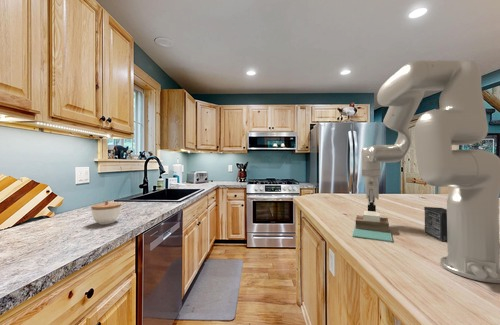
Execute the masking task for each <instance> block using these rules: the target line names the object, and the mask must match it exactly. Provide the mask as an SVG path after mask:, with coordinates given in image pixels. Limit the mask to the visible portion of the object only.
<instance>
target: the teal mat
mask: <svg viewBox="0 0 500 325" xmlns="http://www.w3.org/2000/svg"><path fill="white" fill-rule="evenodd" d="M351 236H352V237H353V238H356V239H364V240H365V239H366V240H372V241H374V240H375V241H379V242H380V241H381V242H388V243H393V237H392V234H391V228H389V232H381V231H372V230H364V229H356V224H355V225H354V228H353V231H352V235H351Z"/></svg>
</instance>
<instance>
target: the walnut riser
mask: <svg viewBox="0 0 500 325" xmlns="http://www.w3.org/2000/svg"><path fill="white" fill-rule="evenodd" d="M389 222H390V221H389V218H388V217H381V216H380V222H370V221H364V220H363V215H358V214H357V215H356V218H355V225H356V229H364V230H372V231H381V232H389V229H390V224H389Z"/></svg>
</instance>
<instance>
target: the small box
mask: <svg viewBox="0 0 500 325" xmlns="http://www.w3.org/2000/svg"><path fill="white" fill-rule="evenodd" d="M423 209H424V233H425V234H426V235H428V236H430V237H432V238H434V239H436V240H438V241H440V242H447V208H443V207H437V206H435V207H433V206H431V207H430V206H424V207H423Z"/></svg>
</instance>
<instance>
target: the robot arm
mask: <svg viewBox="0 0 500 325" xmlns="http://www.w3.org/2000/svg"><path fill="white" fill-rule="evenodd" d="M428 91H431V92H432V91H442V92H441V93H440V95H439V101H438V103H439V109H432V110H428V111H426V112H424V113H422V115H420V116H419V117H418V119H417V120H416V122H415V124H414V128H413V129H414V130H413V139H414V140H413V141H414V147H415V148H414V149H415V155H416V164H417V170H418V173H419V175H420V178H421V179H422V181H423V182H424V183H426V184H428V185H430V186H431V187H438V188H442V187H443V188H447V187H448V188H450V187H452V188H451V189H450V191H449V193H448V196H447V199H446V209H447V241H446V243H447V255H446V256H442V257H441V258H440V259H439V260H440V265H441V266H442V267H443V268H444V269H446V270H447V271H449V272H451V273H453V274H456V275H458V276H460V277H464V278H466V279H471V280H474V281H477V282H478V281H479V282H484V283H491V284H500V220H499V219H500V216H499V215H500V157H499V155H496V154H495V153H493V152H491V151H487V150H485V149H484V150H483V149H453V147H452V146H466V145H467V146H468V145H474V144H478V143H480V142H482V141H483V140H484V139H486V137H487V135H488V131H489V126H488V119H487V112H486V107H485V100H484V99H485V98H484V96H483V90H482V70H481V67H480V65H479V64H478V63H477V62H476V61H473V60H469V59H456V60H455V59H451V60H450V59H447V60H446V59H445V60H443V59H442V60H440V59H439V60H438V59H436V60H414V61H410V62H408V63H406V64H404V65H403V66H401V67H400V68H399V69H398V70H397V71H396V72H395V73H393V74H392V75H391V76H390V77H388V79H387V80H385V81H384V83H383V84H382V85H381V87H380V88H379V90H378V92H377V95H376V100H377V104H378V105H380V106H382V107H388V109H387V111H386V114H385V115H384V118H383V124H384V126H385V127H387V128H389V129H390V130H392V131H395V132H397V134H398V135H397V137H396V141H395V142H394V144H376V145H375V144H374V145H371V146H365V147H362V148H361V178H364V189H365V197H366V198H365V199H367V211H374V212H377V208H376V207H377V205H376V200H379V195H380V193H379V178H381V164H383V163H385V164H386V163H399V162H401V161H402V160H403V159H404V158H405V156H406V155H407V153H408V152H409V150H410V147H411V145H412V135H411V131H410V130H409V125H410V123H411V122H412V120H413V118H414V115H415V114H416V111H417V110H418V108H419V106H420V103H421V102H422V100H423V98H424V95H425V93H426V92H428Z"/></svg>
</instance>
